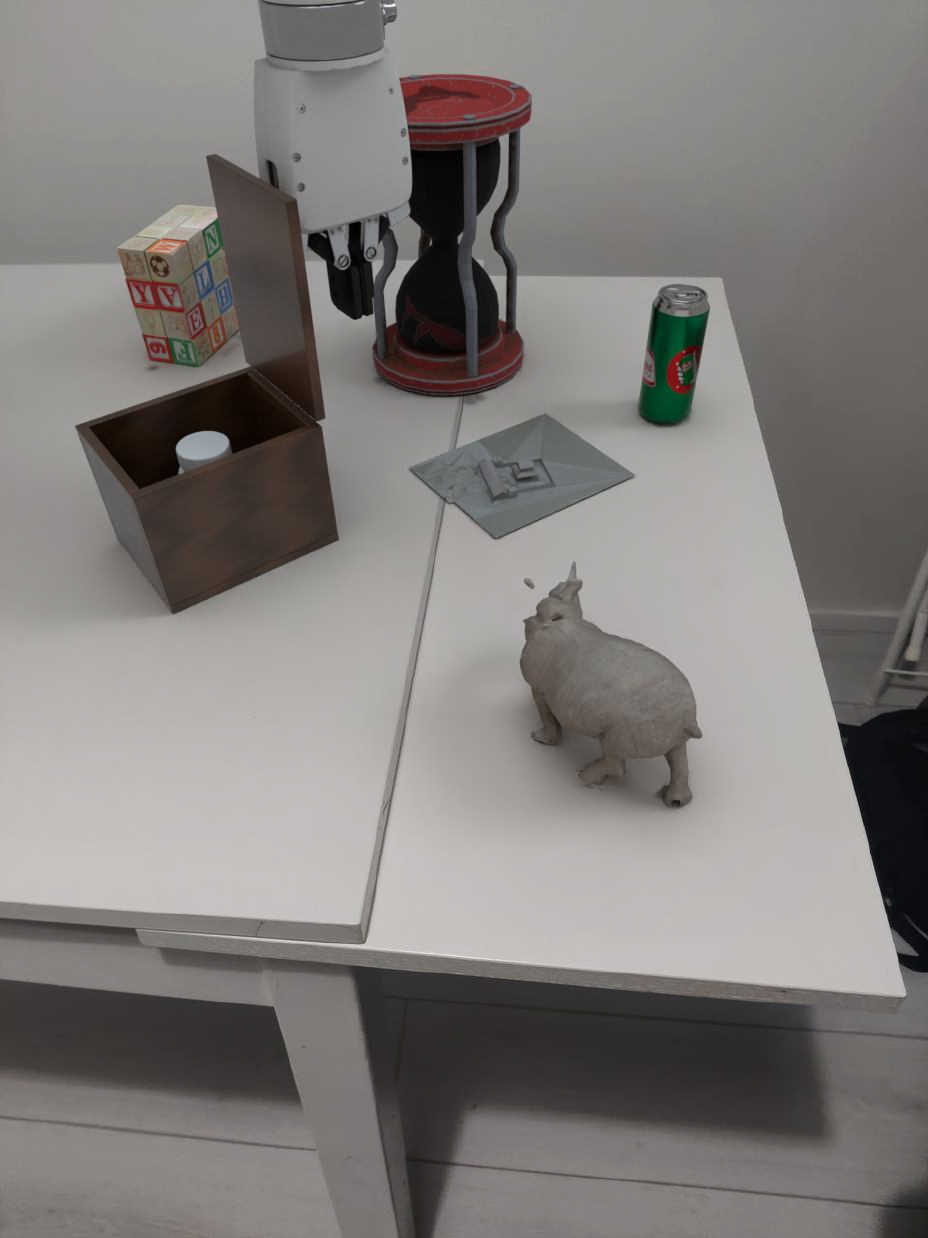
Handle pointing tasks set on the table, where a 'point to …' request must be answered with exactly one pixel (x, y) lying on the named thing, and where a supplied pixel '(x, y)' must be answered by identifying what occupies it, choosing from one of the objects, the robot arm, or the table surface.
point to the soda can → (673, 353)
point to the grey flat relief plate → (521, 474)
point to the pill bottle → (201, 449)
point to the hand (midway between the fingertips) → (354, 310)
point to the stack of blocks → (181, 285)
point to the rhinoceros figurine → (606, 692)
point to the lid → (268, 281)
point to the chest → (213, 485)
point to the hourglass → (453, 240)
